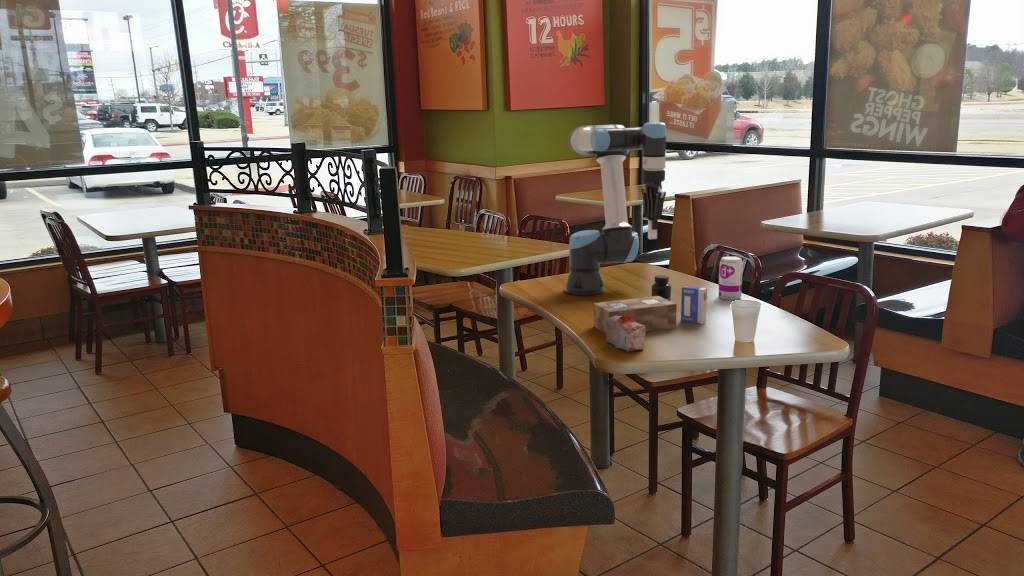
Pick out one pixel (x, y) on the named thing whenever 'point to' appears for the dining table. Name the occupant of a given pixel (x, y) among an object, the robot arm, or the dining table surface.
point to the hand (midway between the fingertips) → (652, 238)
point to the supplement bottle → (661, 287)
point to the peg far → (650, 301)
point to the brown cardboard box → (638, 313)
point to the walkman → (693, 304)
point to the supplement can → (730, 278)
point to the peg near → (618, 305)
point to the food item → (625, 333)
